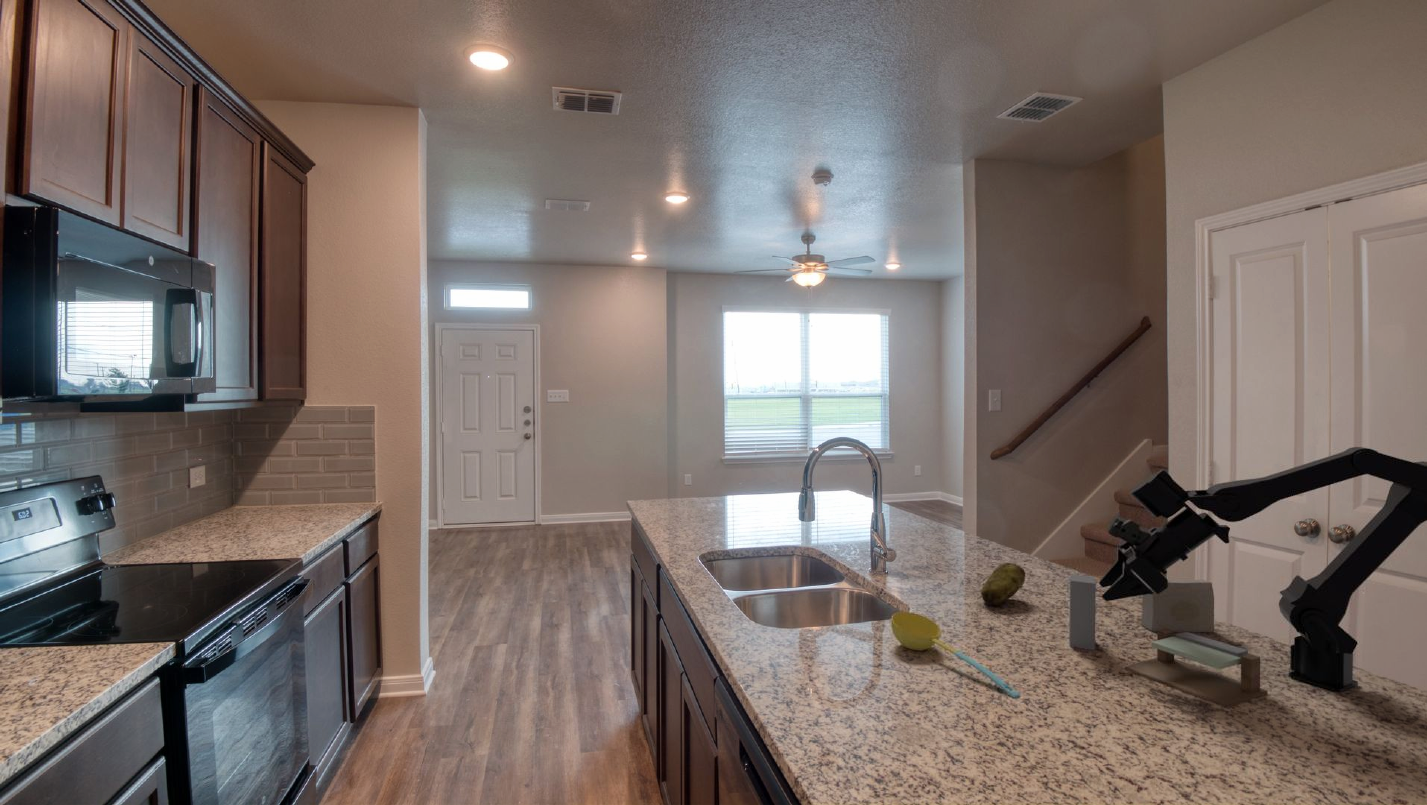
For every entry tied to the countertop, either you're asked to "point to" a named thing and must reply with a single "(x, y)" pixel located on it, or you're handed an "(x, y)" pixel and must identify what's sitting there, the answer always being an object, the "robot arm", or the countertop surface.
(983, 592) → the potato
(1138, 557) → the robot arm
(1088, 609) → the grey rectangular block
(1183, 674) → the trapdoor frame
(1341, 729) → the countertop surface
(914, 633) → the ladle
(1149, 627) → the grey plaster block
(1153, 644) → the trapdoor
